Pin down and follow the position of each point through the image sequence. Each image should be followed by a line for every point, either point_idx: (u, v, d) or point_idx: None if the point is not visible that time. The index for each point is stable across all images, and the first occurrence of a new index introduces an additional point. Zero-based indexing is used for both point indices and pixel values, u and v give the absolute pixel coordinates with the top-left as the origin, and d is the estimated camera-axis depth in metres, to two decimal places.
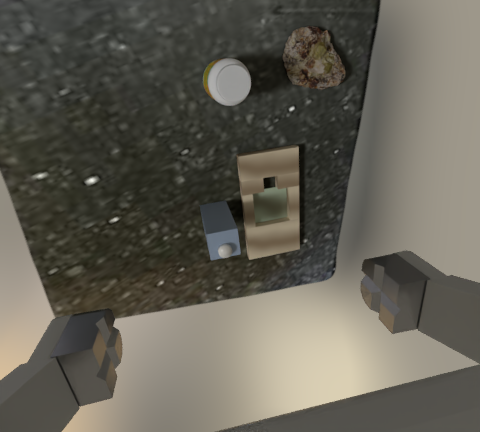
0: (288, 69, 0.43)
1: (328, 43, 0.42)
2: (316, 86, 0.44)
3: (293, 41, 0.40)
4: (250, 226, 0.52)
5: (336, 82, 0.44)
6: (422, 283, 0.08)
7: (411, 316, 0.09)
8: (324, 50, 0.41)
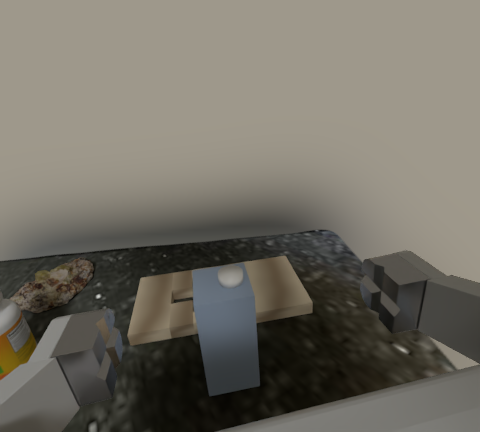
0: (50, 303, 0.37)
1: None
2: (84, 278, 0.41)
3: (18, 297, 0.36)
4: None
5: (86, 263, 0.43)
6: (422, 283, 0.08)
7: (411, 316, 0.09)
8: (44, 270, 0.40)
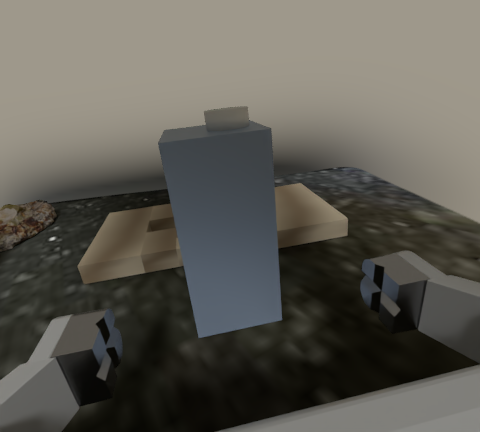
0: None
1: None
2: (39, 221, 0.31)
3: None
4: None
5: (44, 205, 0.33)
6: (422, 283, 0.08)
7: (411, 316, 0.09)
8: None
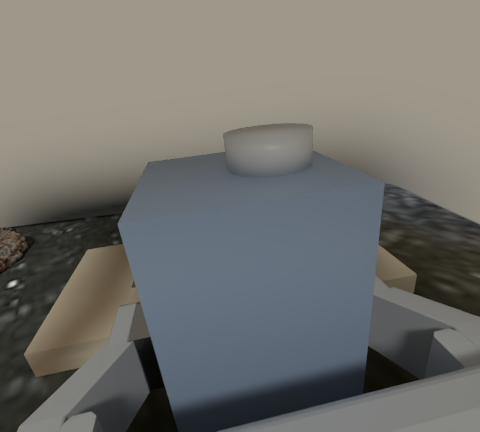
0: None
1: None
2: (2, 258, 0.24)
3: None
4: None
5: (11, 235, 0.26)
6: None
7: None
8: None
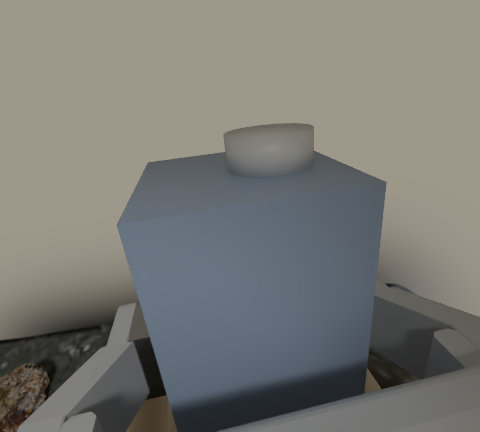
0: None
1: None
2: (27, 411, 0.24)
3: None
4: None
5: (34, 375, 0.26)
6: None
7: None
8: None
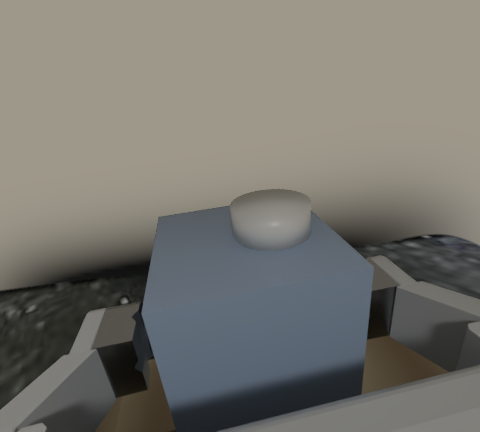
0: None
1: None
2: None
3: None
4: None
5: None
6: (392, 289, 0.08)
7: (382, 322, 0.08)
8: None
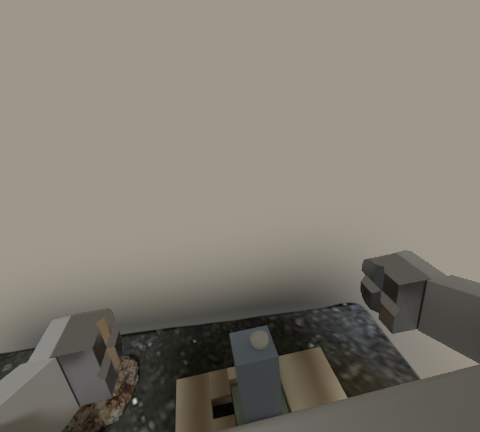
0: (101, 423, 0.35)
1: None
2: (131, 384, 0.40)
3: None
4: None
5: (131, 363, 0.42)
6: (422, 283, 0.08)
7: (411, 316, 0.09)
8: None
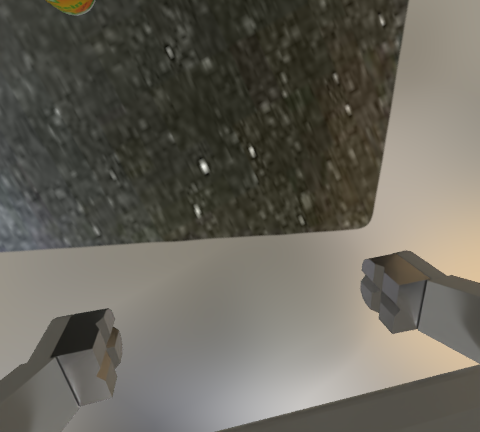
0: None
1: None
2: None
3: None
4: None
5: None
6: (422, 283, 0.08)
7: (411, 316, 0.09)
8: None
